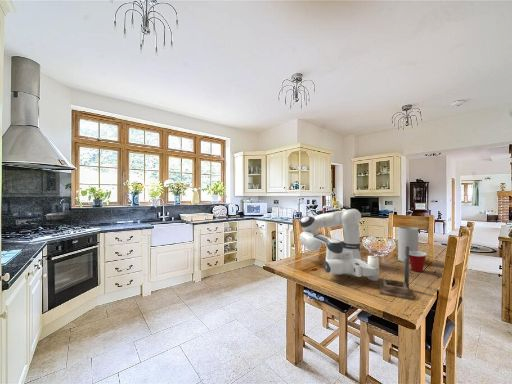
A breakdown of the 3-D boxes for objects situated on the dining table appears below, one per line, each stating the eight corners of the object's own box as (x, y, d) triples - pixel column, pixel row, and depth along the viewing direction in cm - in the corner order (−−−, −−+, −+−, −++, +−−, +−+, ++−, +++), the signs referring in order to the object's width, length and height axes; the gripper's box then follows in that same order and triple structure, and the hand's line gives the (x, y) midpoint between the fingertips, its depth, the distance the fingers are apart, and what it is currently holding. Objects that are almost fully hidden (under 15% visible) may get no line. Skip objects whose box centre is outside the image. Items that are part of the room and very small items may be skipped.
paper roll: (367, 279, 136) (367, 257, 136) (367, 276, 142) (367, 255, 142) (378, 281, 134) (379, 259, 134) (378, 277, 139) (378, 256, 139)
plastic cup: (402, 268, 156) (403, 250, 156) (417, 267, 157) (417, 250, 157) (415, 274, 146) (415, 255, 145) (431, 273, 146) (431, 254, 146)
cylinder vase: (416, 264, 163) (416, 230, 163) (396, 261, 172) (396, 228, 171) (419, 260, 172) (419, 227, 172) (400, 257, 181) (400, 226, 181)
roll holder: (380, 294, 118) (380, 249, 117) (379, 283, 130) (379, 243, 130) (412, 299, 111) (413, 252, 111) (408, 288, 124) (408, 246, 124)
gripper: (344, 265, 148) (365, 265, 148) (360, 278, 127) (384, 277, 128) (344, 256, 148) (365, 256, 148) (360, 267, 127) (384, 266, 128)
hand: (374, 266), depth 138 cm, fingers open, 8 cm apart
